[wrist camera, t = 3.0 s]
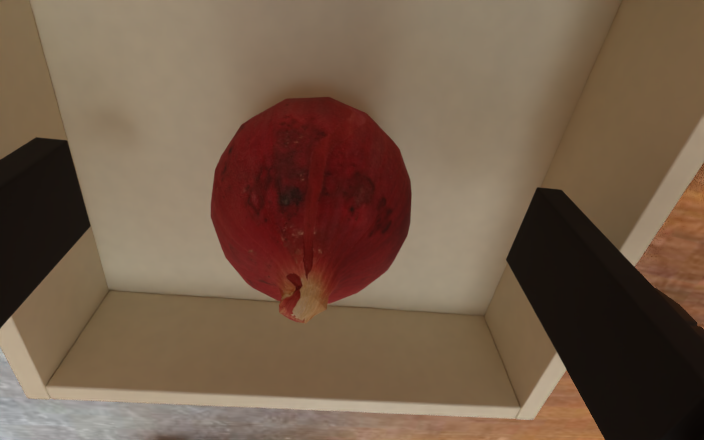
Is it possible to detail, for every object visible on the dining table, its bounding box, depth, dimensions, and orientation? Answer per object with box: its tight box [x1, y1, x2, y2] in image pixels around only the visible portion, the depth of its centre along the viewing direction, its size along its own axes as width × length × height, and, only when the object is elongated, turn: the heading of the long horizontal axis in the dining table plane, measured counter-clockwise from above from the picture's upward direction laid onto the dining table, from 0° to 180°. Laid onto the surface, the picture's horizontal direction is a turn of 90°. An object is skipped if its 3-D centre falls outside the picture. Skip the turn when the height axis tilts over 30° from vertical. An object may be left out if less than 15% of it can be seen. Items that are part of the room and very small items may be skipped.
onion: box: [211, 97, 412, 324], centre depth 12 cm, size 6×6×8 cm
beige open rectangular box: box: [0, 0, 704, 420], centre depth 13 cm, size 20×18×5 cm
